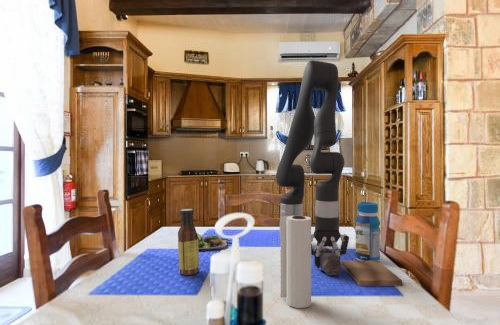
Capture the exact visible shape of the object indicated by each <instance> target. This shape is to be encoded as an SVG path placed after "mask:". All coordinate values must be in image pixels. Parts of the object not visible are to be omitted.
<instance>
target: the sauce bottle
mask: <svg viewBox="0 0 500 325" xmlns="http://www.w3.org/2000/svg"><path fill="white" fill-rule="evenodd" d="M179 214H180V221H181V222H180V226H179V229H178V231H177V239H178V240H177V250H178V251H177V253H178V269H179V273H180V274H181V275H184V276H194V275H195V274H197V273H199V271H200V269H199V266H200V258H199V256H200V254H199V252H200V251H198V235H197V233H198V232H197V230H196V225H195V224H194V209H192V208H182V209H180V210H179Z"/></svg>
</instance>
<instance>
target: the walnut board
mask: <svg viewBox="0 0 500 325" xmlns="http://www.w3.org/2000/svg"><path fill="white" fill-rule="evenodd" d="M340 261H341V268H343V269H344V270H345V271H346V272H347V274H349V276H350V277H351V278H352V279H353V280H354V281H355V282H356V284H357V285H358V286H359V287H384V286H385V287H391V286H393V287H394V286H396V287H397V286H401V287H402V286H403V280H402V279H401V277H399V276H398V275H396V274H395V273H394V272H392V271H391V270H390V269H388V267H386V266H384V265H383V264H382V263H381V262H380V261H379V262H378V261H359V260H340Z"/></svg>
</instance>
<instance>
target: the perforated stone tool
mask: <svg viewBox="0 0 500 325" xmlns="http://www.w3.org/2000/svg"><path fill="white" fill-rule="evenodd" d="M319 256H320V268H321V270H322V272H325V274H327V275H329V276H339V275H340V274H341V272H342V265H341V261H342V260H341V258H340V259H339V257H338V256H337V255H336V253H335V252H334V250H333V249H332V250H331V249H330V248H326V247H323V248H322V250H321V252H320V255H319Z"/></svg>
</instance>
